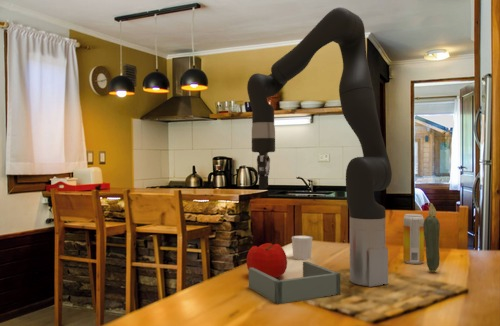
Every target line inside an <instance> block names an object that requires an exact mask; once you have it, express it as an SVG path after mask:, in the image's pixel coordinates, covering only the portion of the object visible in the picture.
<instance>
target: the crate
mask: <svg viewBox="0 0 500 326" xmlns="http://www.w3.org/2000/svg"><path fill="white" fill-rule="evenodd" d="M248 288H249V289H250V290H252V291H254V292H256V293H258V294H259V295H261V296H263V297H265V298H266V299H267V300H269V301H271V302H273V303H274V304H277V305H281V304H286V303H293V302H299V301H300V302H302V301H307V300H312V299H318V298H325V297H324V296H327V297H331V295H333V296H337V295H336V294H339V295H341V273H339V272H336V271H334V270H331V269H329V268H326V267H324V266H320V265H318V264H316V263H312V262H309V261H307V260H304V261H302V276H301V277H294V278H287V279H280V280H279V279H277V278H274V277H271V276H269V275H267V274H265V273H263V272H261V271H259V270H257V269H255V268H249V271H248Z"/></svg>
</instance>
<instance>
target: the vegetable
mask: <svg viewBox="0 0 500 326" xmlns="http://www.w3.org/2000/svg"><path fill="white" fill-rule="evenodd" d="M436 215H437V210H436V207H435V206H434V204H433V203H431V202H429V203H428V216H426V218H424V224H423V229H424V244H425V257H426V265H427V268H428V271H430V272H431V273H433V272H434V273H435V272H436V271H438V268H439V267H440V261H441V259H440V256H441V255H440V230H441V229H440V228H441V226H440V221H439V219H438V218H437V217H436Z"/></svg>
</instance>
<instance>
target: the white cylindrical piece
mask: <svg viewBox="0 0 500 326" xmlns="http://www.w3.org/2000/svg"><path fill="white" fill-rule="evenodd" d="M291 245H292V255H293V256H292V258H293V259H294V260H298V261H307V260H310V259H311V258H312V256H311V255H312V246H313V236H309V235H301V234H300V235H293V236H291Z"/></svg>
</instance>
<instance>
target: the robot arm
mask: <svg viewBox="0 0 500 326" xmlns="http://www.w3.org/2000/svg"><path fill="white" fill-rule="evenodd" d="M365 32H366V31H365V25H364V22H363V20H362V18H361V17H360V16H359V15H357V14H356V13H354V12H352V11H351V10H350V9H348V8H345V7H335V8H333V9H331V10H330V11H329V12H328V13H326V15H324V17H322V18H321V20H319V22H318V23H317V24H316V25H315V26H314V27H313V28H312V29H311V30H310V31H309V32H308V33H307V35H306V36H305V37H303V38H302V40H301V41H299V43H298V44H297V45H295V47H293V48H292V49H291V50H289V52H287V53H286V54H284V55H283V56H282V57H280V58H279V59H278V60H276V62H274V63H273V64H272V65H271V69H270V71H271V73H270V74H268V75H267V74H264V73H263V74H262V73H259V72H258V73H253V74H252V75H250V77H249V79H248V81H247V85H246V89H247V95H248V99H249V104H250V108H251V121H252V122H251V123H252V124H251V152H253V153H258V155H257V157H256V170H257V172H256V174H257V177H258V188H259V190H265V189H267V188H268V187H269V175H270V169H271V168H270V167H271V164H270V163H271V158H270V156H269V153H275V152H276V128H275V108H274V106H273V105H272V104H270V103H269V102H268V99H267V98H272V97H274V96H276V95H277V94H279V92H281V90H282V89H283V88H284V87H285V86H286V84H287V83H288V82H289V81H291V80H293V78H295V77H296V76H298V75H299V74H301V73H302V72H303V71H305V69H306V68H307V67H308V65H309V64H310V62H311V60H312V59H313V57H314V56H315V54H316V53H317V52H318V51H319V50H320V49H322V48H323V47H325V46H327V45H328V44H330V43H332V42H334V43H335V44H338V46H339V50H340V54H341V58H342V59H341V60H342V73H341V76H340V81H339V86H338V93H339V94H338V96H339V101H340V108H341V112H342V115H343V117H344V119H345V121H346V122H347V124H348V125H349V127H350V128H351V130H352V132H354V134H355V136H356V138H357V139H358V141H359V144H360V148H361V150H362V155H363V156H356V157H353V158H352V159H351V160H350V161H349V162H348V164H347V165H346V169H345V190H346V204H347V208H348V210H349V281H350V282H351V283H352V284H355V285H359V286H366V287H368V288H369V287H370V288H372V287H376V286H377V287H378V286H383V284H385V285H388V284H389V249H388V247H386V215H387V213H386V207H385V206H383V205H382V204H379V203H378V202H377V201H376V199H375V193H374V192H380V191H385V190H386V189H387V188H388V187H389V186H390V184H391V182H392V176H393V173H392V172H393V171H392V166H391V163H390V159H389V155H388V152H387V148H386V146H385V145H386V144H385V141H384V137H383V135H382V129H381V125H380V120H379V116H378V111H377V110H378V109H377V103H376V97H375V91H374V88H373V84H372V83H373V82H372V78H371V72H370V67H369V62H368V61H369V60H368V55H367V45H366V42H367V41H366V33H365Z"/></svg>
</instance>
